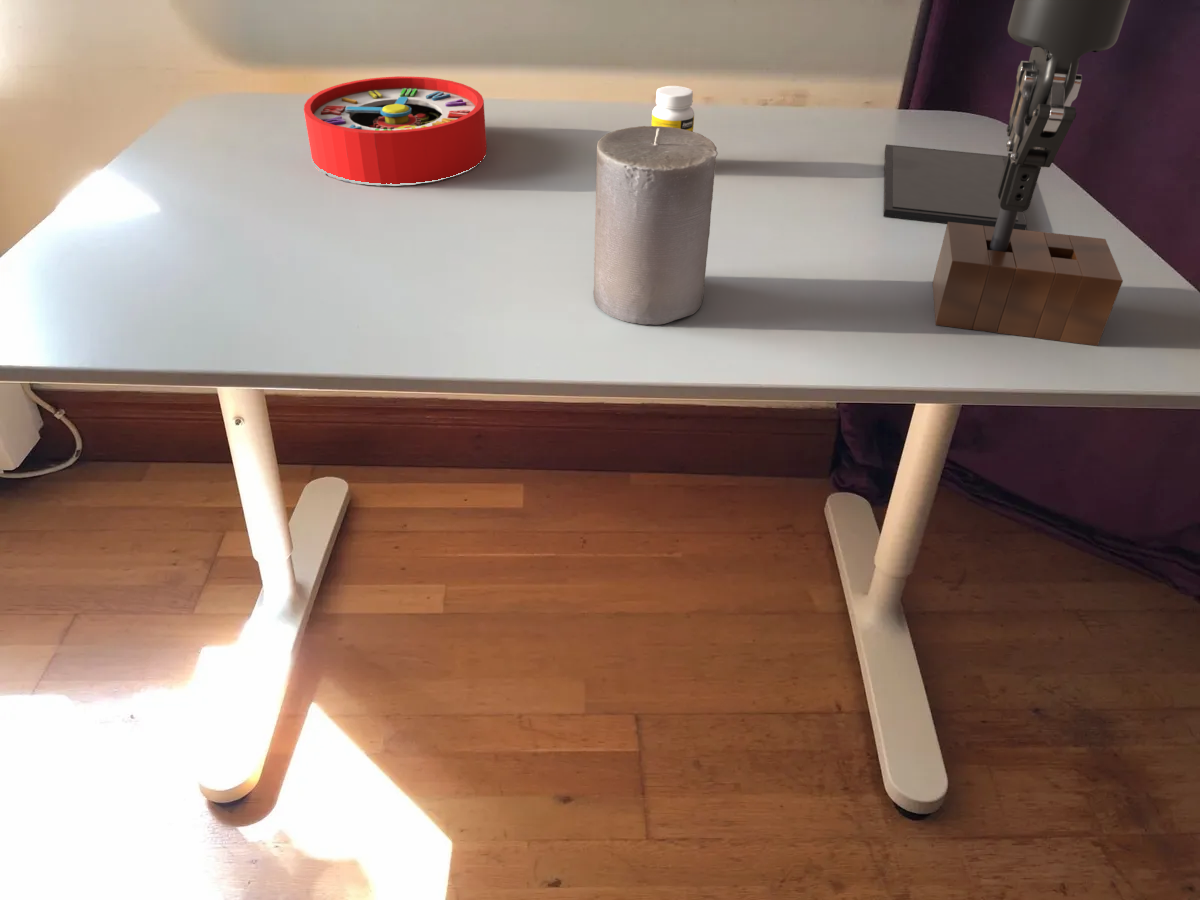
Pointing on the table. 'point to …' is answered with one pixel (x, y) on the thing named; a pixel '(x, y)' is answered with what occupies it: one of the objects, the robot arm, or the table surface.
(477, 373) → the table surface
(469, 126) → the toy clock
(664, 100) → the supplement bottle
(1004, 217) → the stylus
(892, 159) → the tablet
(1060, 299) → the pen stand
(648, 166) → the pillar candle
